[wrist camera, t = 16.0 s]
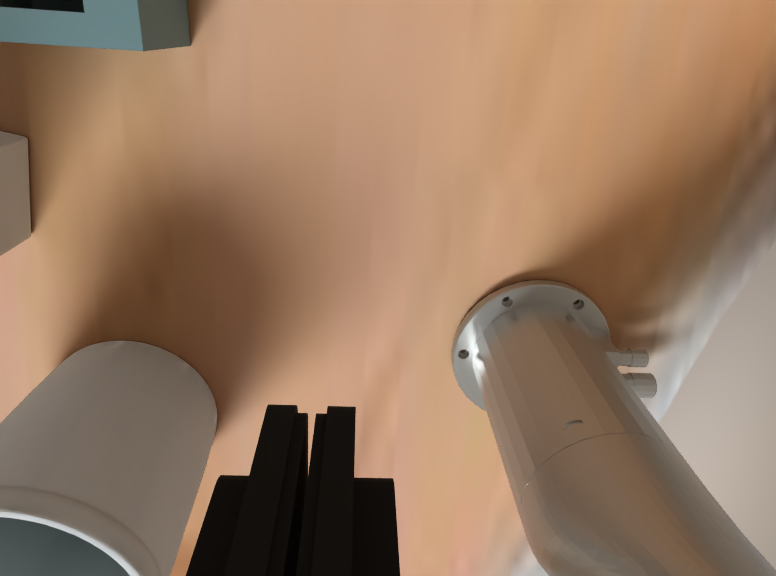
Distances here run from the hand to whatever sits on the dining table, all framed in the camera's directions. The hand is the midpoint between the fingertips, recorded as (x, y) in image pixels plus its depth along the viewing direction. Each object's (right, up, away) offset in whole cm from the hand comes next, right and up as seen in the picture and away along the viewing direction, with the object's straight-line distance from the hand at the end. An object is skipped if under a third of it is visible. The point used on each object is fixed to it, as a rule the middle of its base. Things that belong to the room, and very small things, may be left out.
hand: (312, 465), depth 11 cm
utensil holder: (-19, -6, +35) cm, 40 cm away
